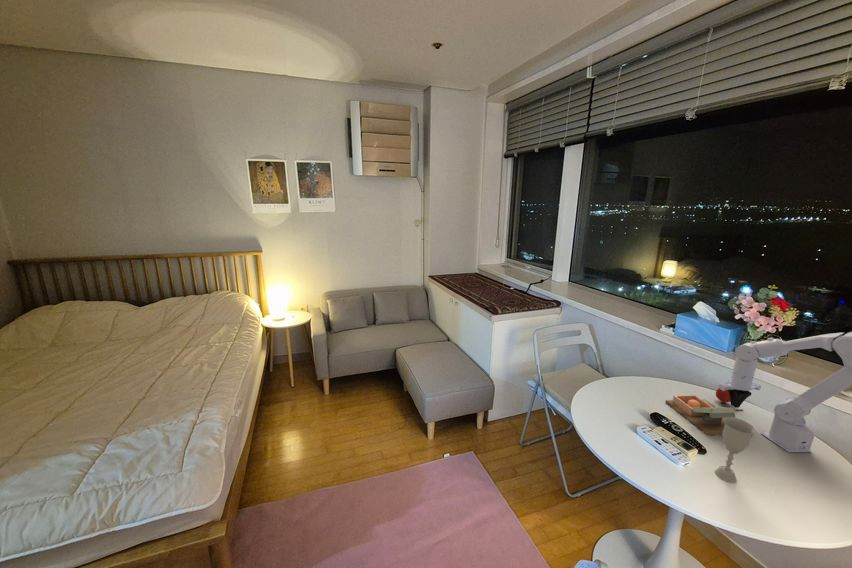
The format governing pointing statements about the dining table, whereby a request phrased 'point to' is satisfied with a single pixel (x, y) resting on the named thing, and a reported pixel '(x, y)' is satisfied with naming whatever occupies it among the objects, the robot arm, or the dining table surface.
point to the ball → (693, 403)
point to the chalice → (734, 444)
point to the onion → (723, 395)
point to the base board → (698, 421)
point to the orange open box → (681, 403)
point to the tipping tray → (718, 411)
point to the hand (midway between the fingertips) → (734, 406)
